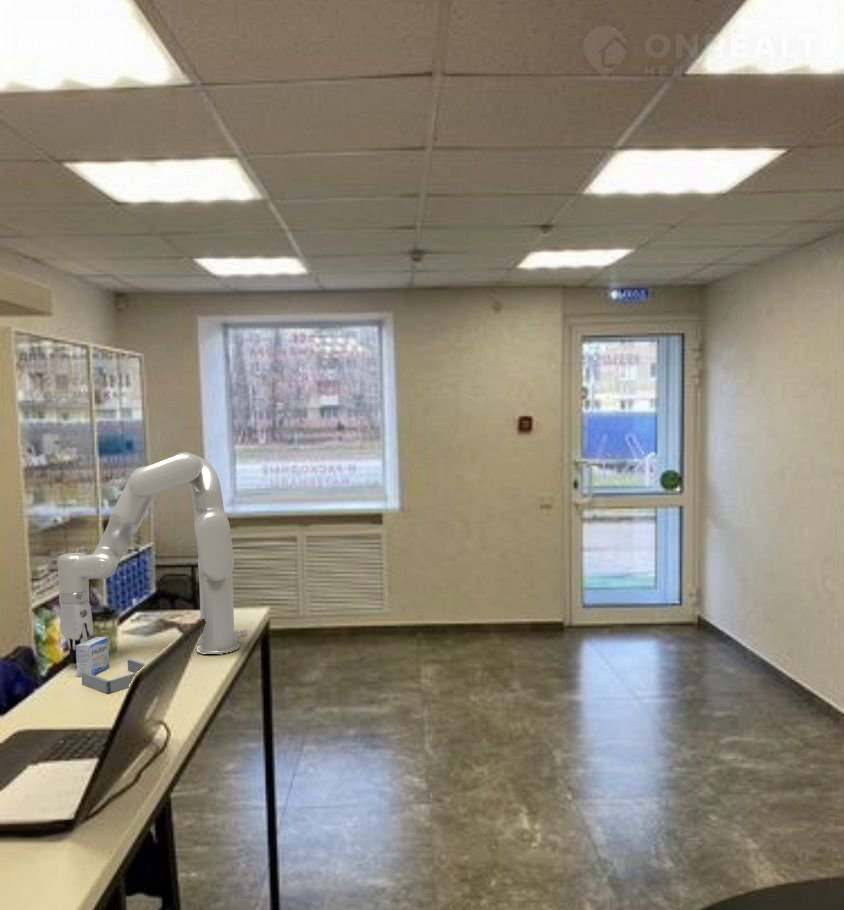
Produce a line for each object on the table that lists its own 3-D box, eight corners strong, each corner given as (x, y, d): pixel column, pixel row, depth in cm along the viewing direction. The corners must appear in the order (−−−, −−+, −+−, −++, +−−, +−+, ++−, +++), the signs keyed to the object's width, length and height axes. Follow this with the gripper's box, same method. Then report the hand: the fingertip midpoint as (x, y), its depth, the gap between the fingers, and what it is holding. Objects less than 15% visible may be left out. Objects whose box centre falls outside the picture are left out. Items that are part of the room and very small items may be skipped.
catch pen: (130, 669, 197) (130, 658, 197) (157, 678, 190) (156, 667, 189) (81, 684, 187) (81, 672, 187) (107, 694, 179) (107, 682, 179)
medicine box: (91, 677, 192) (90, 645, 192) (76, 676, 193) (75, 644, 193) (109, 667, 200) (108, 637, 199) (95, 667, 201) (94, 636, 200)
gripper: (101, 598, 200) (103, 663, 200) (74, 592, 209) (77, 654, 209) (74, 603, 194) (77, 671, 194) (48, 597, 203) (50, 661, 203)
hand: (77, 662), depth 202 cm, fingers closed
